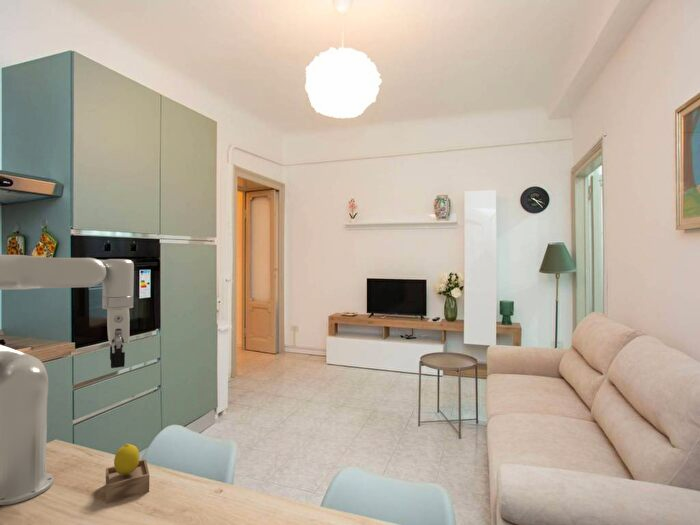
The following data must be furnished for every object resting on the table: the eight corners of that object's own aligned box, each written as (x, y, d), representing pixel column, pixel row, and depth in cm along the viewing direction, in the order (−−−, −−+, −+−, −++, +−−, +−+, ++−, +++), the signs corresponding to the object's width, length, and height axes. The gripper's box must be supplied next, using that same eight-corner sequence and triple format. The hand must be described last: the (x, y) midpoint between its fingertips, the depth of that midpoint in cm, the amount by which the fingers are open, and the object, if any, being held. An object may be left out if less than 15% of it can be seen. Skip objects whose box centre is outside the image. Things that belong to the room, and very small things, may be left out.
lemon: (127, 483, 94) (128, 450, 94) (108, 480, 95) (109, 447, 95) (144, 471, 100) (144, 440, 100) (125, 468, 101) (126, 437, 101)
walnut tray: (106, 503, 91) (106, 485, 91) (105, 484, 99) (105, 468, 99) (149, 491, 96) (149, 474, 96) (145, 474, 104) (145, 458, 104)
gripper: (135, 305, 104) (134, 368, 104) (131, 299, 118) (130, 355, 118) (102, 306, 100) (101, 372, 100) (102, 300, 114) (101, 358, 114)
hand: (117, 363), depth 109 cm, fingers open, 9 cm apart
